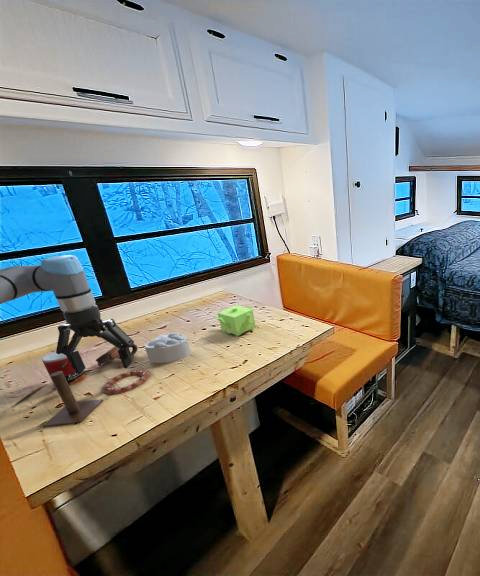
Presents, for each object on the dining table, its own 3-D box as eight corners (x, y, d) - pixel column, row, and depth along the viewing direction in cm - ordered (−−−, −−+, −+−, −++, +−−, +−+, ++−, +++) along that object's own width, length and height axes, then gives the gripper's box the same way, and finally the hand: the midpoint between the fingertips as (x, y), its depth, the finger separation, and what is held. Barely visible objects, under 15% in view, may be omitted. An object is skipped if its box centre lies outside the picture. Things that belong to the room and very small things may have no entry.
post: (44, 430, 83) (21, 386, 78) (71, 406, 91) (51, 365, 86) (81, 425, 84) (61, 382, 79) (104, 403, 92) (87, 362, 87)
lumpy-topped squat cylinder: (165, 350, 120) (159, 330, 117) (197, 350, 120) (192, 330, 117) (145, 365, 111) (138, 344, 108) (180, 365, 110) (174, 344, 107)
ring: (95, 398, 94) (93, 393, 94) (119, 376, 105) (117, 371, 104) (136, 394, 96) (134, 389, 95) (156, 372, 107) (154, 367, 106)
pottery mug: (115, 376, 106) (95, 359, 103) (108, 379, 111) (89, 363, 108) (148, 351, 115) (130, 335, 112) (140, 355, 120) (123, 340, 117)
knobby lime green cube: (256, 335, 130) (251, 311, 126) (219, 342, 125) (213, 317, 121) (257, 321, 143) (253, 299, 139) (224, 326, 139) (218, 304, 135)
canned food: (74, 388, 99) (60, 360, 95) (48, 390, 99) (33, 361, 95) (93, 374, 106) (82, 347, 102) (69, 376, 106) (56, 348, 102)
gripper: (133, 299, 95) (153, 357, 102) (43, 306, 92) (70, 366, 99) (117, 309, 88) (140, 370, 95) (19, 317, 85) (50, 380, 92)
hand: (105, 368), depth 97 cm, fingers open, 13 cm apart
